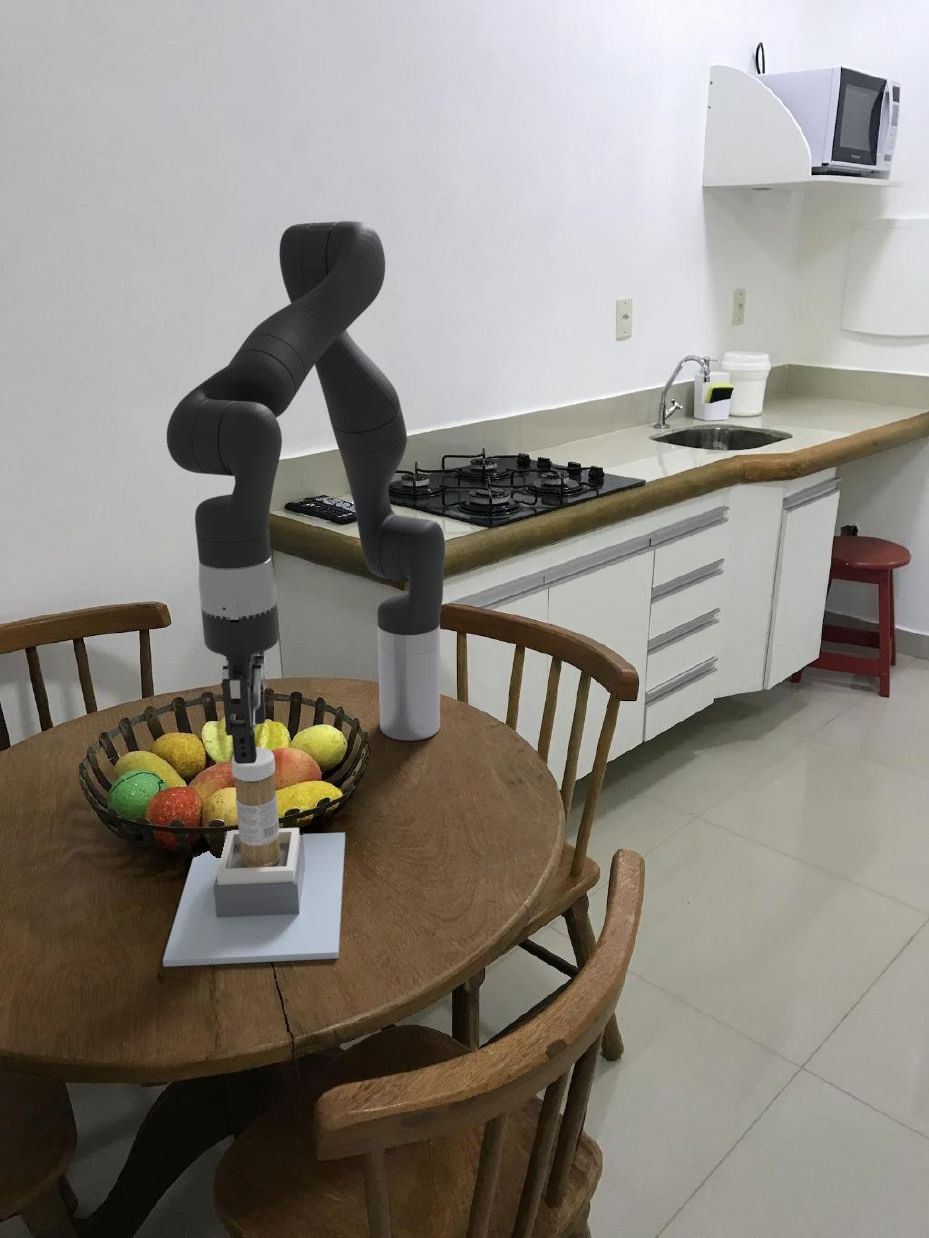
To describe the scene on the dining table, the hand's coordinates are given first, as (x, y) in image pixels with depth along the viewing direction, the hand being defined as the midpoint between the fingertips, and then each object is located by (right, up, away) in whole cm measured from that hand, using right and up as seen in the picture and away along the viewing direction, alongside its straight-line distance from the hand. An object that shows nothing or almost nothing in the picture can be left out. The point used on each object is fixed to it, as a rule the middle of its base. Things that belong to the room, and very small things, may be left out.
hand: (251, 741), depth 105 cm
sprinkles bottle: (0, -14, +6) cm, 16 cm away
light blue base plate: (0, -19, +7) cm, 20 cm away
